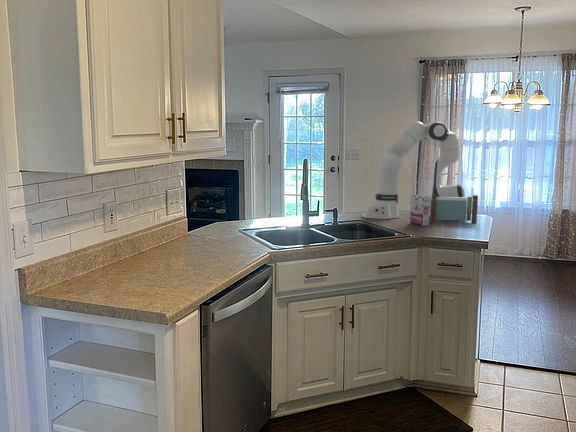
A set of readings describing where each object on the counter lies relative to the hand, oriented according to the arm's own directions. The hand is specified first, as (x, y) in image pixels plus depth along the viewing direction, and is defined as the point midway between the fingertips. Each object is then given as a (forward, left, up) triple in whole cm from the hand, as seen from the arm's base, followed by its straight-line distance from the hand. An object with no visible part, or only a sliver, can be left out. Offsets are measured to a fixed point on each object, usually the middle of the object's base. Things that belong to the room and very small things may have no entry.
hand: (446, 212), depth 323 cm
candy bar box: (-16, -11, -6) cm, 20 cm away
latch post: (-8, -4, -6) cm, 10 cm away
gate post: (+15, -1, -6) cm, 17 cm away
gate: (+2, -1, -4) cm, 5 cm away
